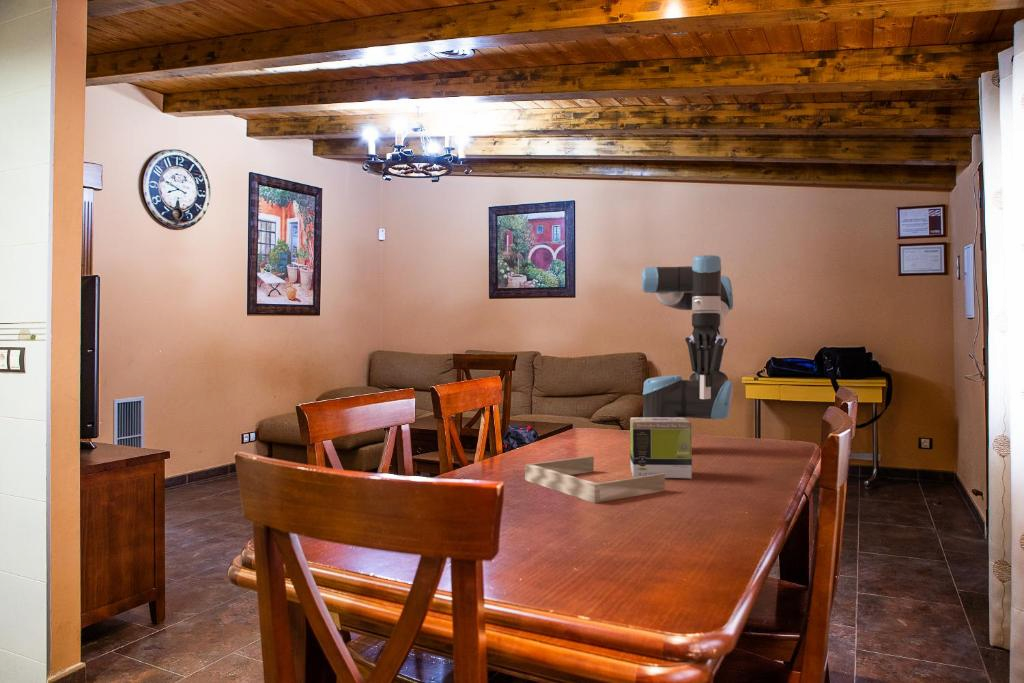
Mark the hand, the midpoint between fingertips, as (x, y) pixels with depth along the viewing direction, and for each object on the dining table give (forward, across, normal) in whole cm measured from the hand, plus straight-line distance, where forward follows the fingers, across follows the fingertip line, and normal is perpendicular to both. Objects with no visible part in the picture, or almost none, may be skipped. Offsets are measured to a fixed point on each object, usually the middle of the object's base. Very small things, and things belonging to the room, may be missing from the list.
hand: (705, 398), depth 196 cm
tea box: (+19, 0, -17) cm, 26 cm away
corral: (+19, 0, -39) cm, 43 cm away
